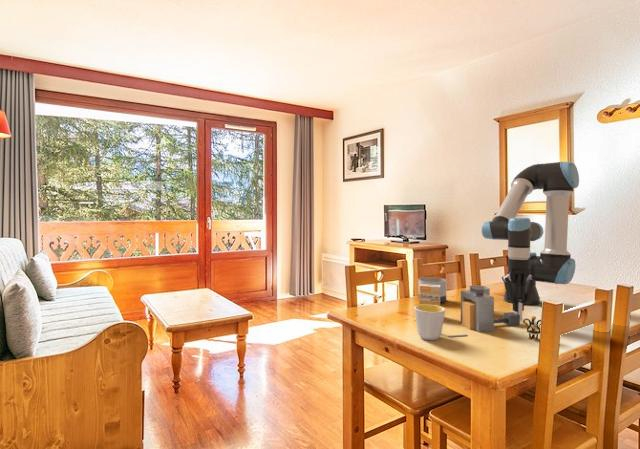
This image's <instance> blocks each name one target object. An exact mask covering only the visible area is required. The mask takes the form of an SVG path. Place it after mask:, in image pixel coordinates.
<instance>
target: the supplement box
mask: <svg viewBox="0 0 640 449" xmlns="http://www.w3.org/2000/svg"><path fill="white" fill-rule="evenodd" d="M440 289H441V285H429V284H420V296H419V298H418V299H419V302H418V303H419V304H418V305H421V304H430V305H437V306H441V303H440Z"/></svg>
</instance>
